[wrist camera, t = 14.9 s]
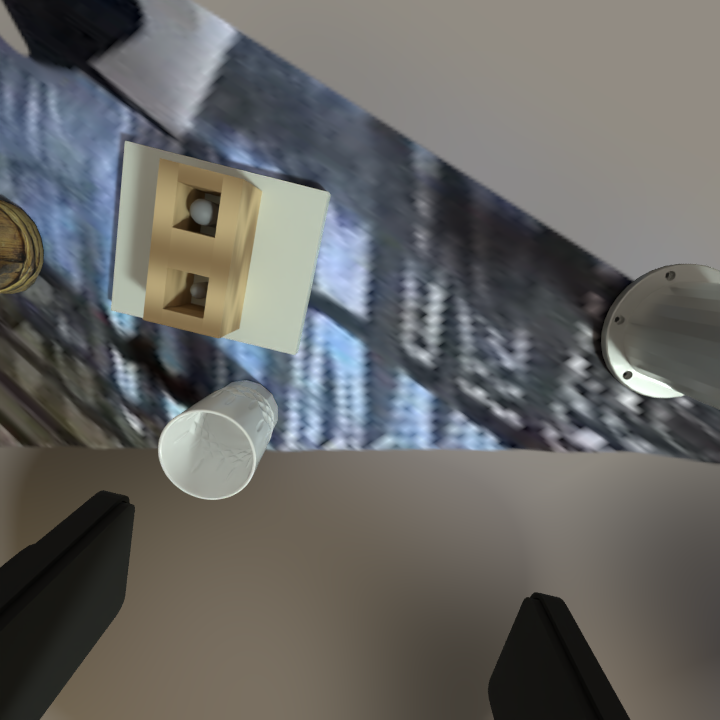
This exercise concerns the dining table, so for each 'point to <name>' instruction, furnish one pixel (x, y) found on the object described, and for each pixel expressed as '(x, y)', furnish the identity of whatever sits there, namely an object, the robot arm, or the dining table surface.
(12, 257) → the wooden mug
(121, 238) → the post board
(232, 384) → the white cup
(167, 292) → the tan hollow block
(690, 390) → the robot arm
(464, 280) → the dining table surface
